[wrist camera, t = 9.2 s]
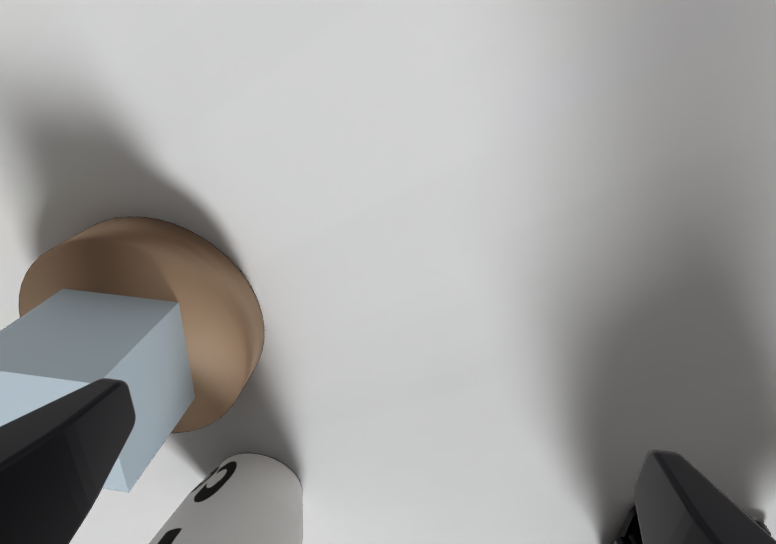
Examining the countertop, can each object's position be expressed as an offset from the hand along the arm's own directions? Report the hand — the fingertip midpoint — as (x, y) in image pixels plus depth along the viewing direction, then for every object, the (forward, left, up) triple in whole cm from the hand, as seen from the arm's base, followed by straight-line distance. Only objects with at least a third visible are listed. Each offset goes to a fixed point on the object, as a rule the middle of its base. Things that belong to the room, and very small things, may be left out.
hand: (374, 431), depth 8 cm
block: (+12, +7, -10) cm, 17 cm away
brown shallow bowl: (+12, +7, -12) cm, 18 cm away
